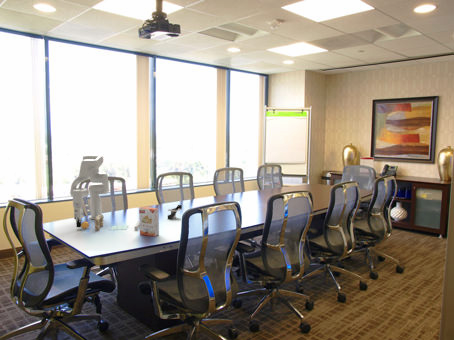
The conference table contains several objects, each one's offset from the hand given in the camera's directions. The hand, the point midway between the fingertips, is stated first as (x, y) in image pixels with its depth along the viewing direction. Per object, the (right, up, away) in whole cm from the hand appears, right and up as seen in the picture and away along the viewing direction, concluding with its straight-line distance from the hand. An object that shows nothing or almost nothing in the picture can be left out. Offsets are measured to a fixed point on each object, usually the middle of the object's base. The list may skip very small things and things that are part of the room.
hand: (78, 227), depth 299 cm
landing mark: (+32, -1, +3) cm, 32 cm away
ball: (+5, +1, 0) cm, 5 cm away
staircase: (+73, +1, +38) cm, 82 cm away
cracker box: (+61, -3, -18) cm, 64 cm away
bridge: (+16, -1, +2) cm, 16 cm away
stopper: (+47, -1, +5) cm, 47 cm away
